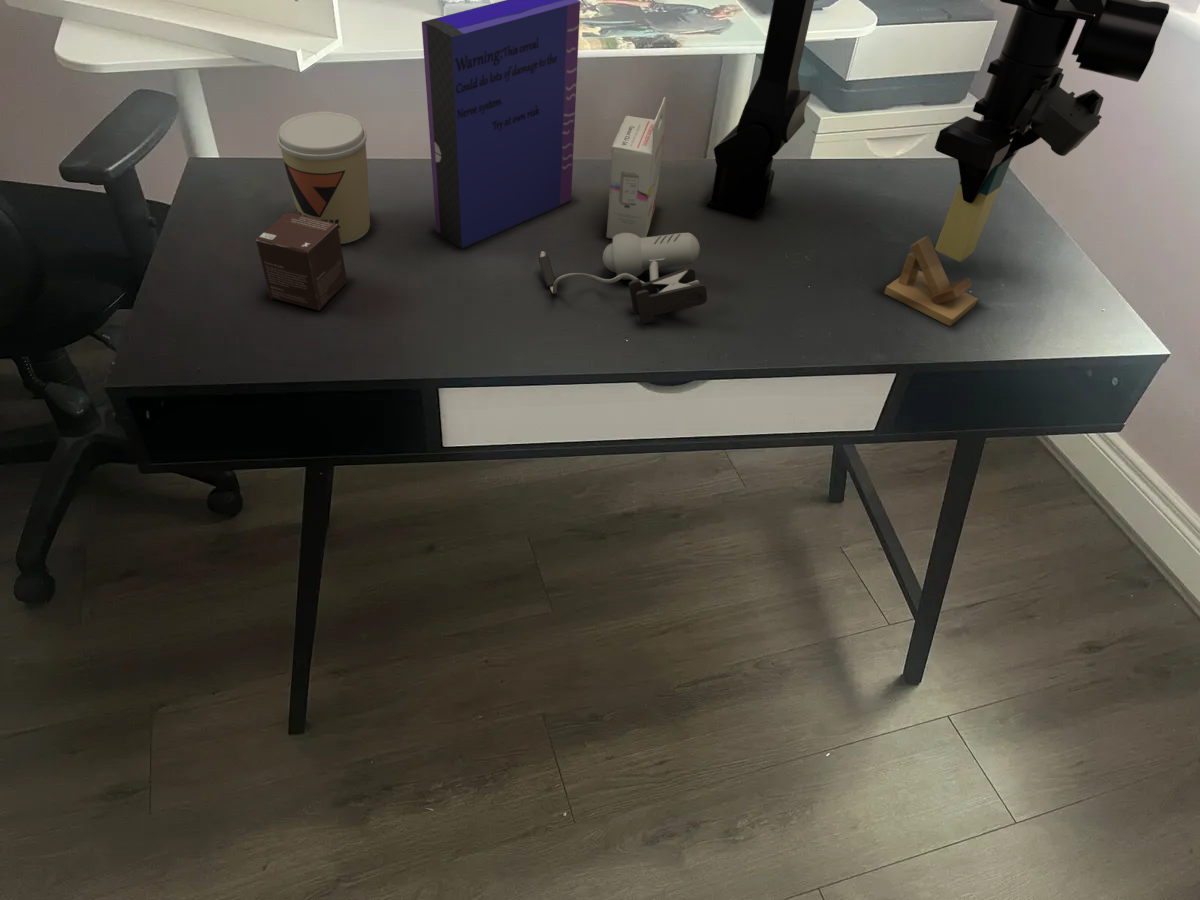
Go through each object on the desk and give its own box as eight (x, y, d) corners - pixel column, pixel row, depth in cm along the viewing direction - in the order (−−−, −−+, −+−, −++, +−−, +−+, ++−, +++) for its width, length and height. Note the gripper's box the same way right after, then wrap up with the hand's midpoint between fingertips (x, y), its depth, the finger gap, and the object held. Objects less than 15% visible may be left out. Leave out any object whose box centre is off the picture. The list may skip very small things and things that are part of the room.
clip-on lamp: (543, 339, 98) (709, 319, 96) (530, 294, 94) (704, 273, 91) (547, 270, 106) (701, 250, 104) (535, 225, 101) (697, 203, 99)
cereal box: (545, 186, 116) (550, -14, 100) (571, 201, 114) (580, -1, 97) (436, 232, 107) (421, 19, 90) (462, 249, 105) (451, 34, 88)
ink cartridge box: (617, 203, 114) (627, 88, 104) (655, 210, 114) (669, 94, 104) (603, 238, 108) (612, 119, 98) (644, 245, 108) (658, 126, 98)
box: (349, 283, 99) (340, 223, 94) (319, 313, 95) (307, 252, 89) (299, 270, 100) (288, 210, 95) (268, 299, 96) (254, 238, 91)
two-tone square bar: (905, 184, 106) (989, 146, 97) (919, 175, 107) (1003, 137, 99) (942, 268, 107) (1028, 238, 99) (956, 258, 109) (1041, 227, 100)
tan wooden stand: (883, 293, 104) (900, 244, 99) (910, 274, 107) (927, 225, 103) (949, 326, 100) (970, 277, 95) (975, 305, 103) (995, 257, 99)
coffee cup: (278, 236, 104) (257, 136, 96) (325, 199, 111) (309, 103, 102) (348, 256, 102) (333, 156, 94) (392, 218, 109) (381, 121, 100)
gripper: (1069, 108, 82) (1004, 256, 93) (1144, 59, 93) (1077, 197, 104) (959, 68, 88) (909, 213, 99) (1041, 26, 98) (988, 161, 109)
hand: (975, 196), depth 102 cm, fingers closed on two-tone square bar, 3 cm apart
